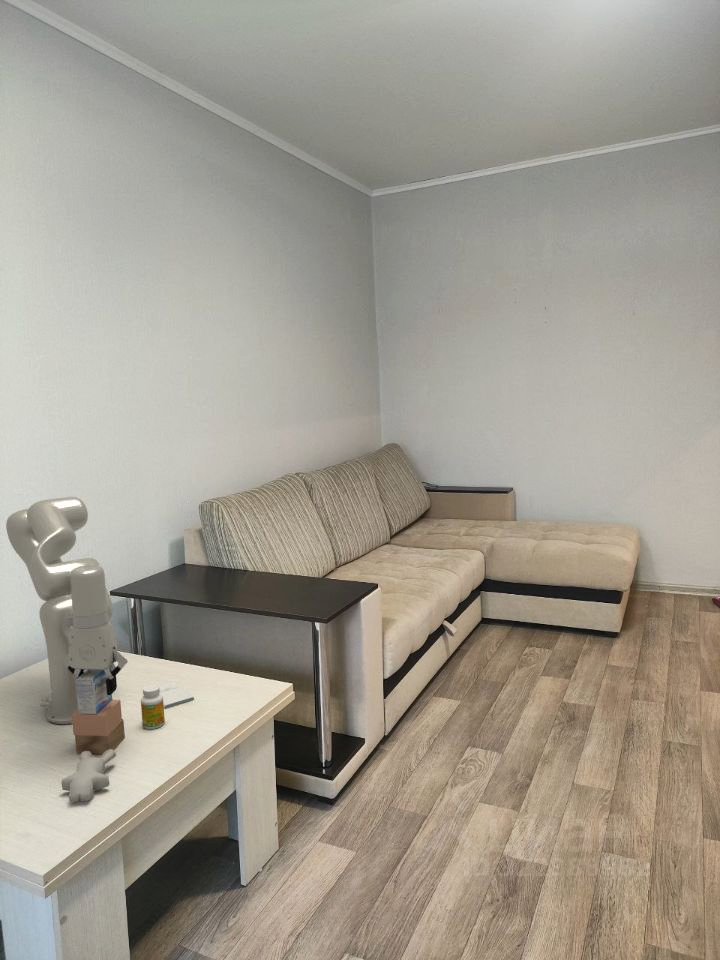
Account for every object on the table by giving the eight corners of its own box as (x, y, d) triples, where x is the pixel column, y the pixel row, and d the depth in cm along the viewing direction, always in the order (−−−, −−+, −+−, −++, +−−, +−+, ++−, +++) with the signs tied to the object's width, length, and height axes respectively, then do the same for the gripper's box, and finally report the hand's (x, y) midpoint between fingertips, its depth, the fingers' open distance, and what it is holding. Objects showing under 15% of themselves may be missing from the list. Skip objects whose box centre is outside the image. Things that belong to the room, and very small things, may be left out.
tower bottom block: (76, 755, 161) (74, 735, 160) (93, 737, 169) (92, 718, 168) (109, 756, 160) (107, 736, 159) (125, 738, 168) (123, 719, 167)
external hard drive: (165, 711, 182) (149, 694, 192) (194, 702, 187) (177, 686, 197) (164, 705, 182) (148, 689, 192) (194, 696, 187) (177, 681, 197)
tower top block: (73, 734, 160) (71, 714, 160) (90, 718, 168) (88, 698, 167) (106, 736, 159) (104, 715, 159) (121, 719, 167) (120, 699, 167)
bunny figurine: (53, 790, 140) (75, 743, 155) (56, 811, 141) (78, 763, 156) (101, 786, 141) (119, 740, 155) (104, 807, 142) (121, 760, 157)
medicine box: (96, 715, 159) (92, 679, 158) (78, 714, 160) (74, 678, 158) (113, 699, 167) (110, 665, 166) (95, 698, 167) (92, 664, 166)
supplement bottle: (144, 731, 171) (141, 694, 169) (140, 722, 175) (138, 686, 174) (167, 726, 173) (164, 689, 172) (162, 717, 178) (159, 681, 176)
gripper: (46, 624, 157) (54, 698, 160) (118, 625, 155) (124, 701, 158) (65, 613, 165) (71, 684, 167) (133, 614, 162) (139, 686, 165)
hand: (97, 691), depth 163 cm, fingers open, 6 cm apart
